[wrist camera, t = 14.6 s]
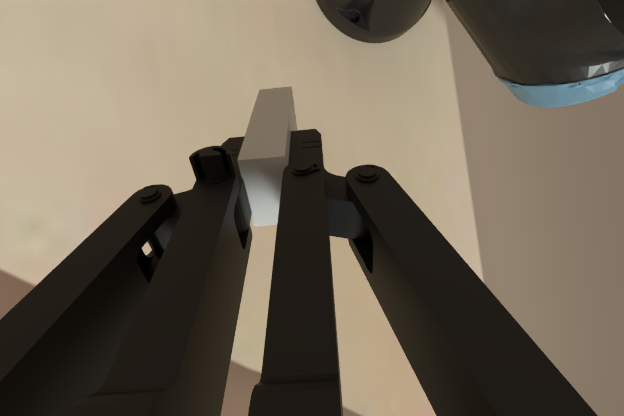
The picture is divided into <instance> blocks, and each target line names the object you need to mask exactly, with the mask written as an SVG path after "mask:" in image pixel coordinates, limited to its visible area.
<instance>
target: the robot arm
mask: <svg viewBox="0 0 624 416" xmlns="http://www.w3.org/2000/svg"><path fill="white" fill-rule="evenodd" d="M316 1H317V3H318V5H319V7H320V9H321V10H322V12H323V13H324V15H325V16H326V18H327V19H328V20H329V21H330V22H331V23H332V24H333V25H334V26H335V27H336V28H337V29H338V30H340V31H341V32H342V33H344V34H345V35H347V36H349V37H351V38H353V39H356V40H359V41H362V42H367V43H382V42H387V41H391V40H393V39H396V38H398V37H400V36H401V35H403V34H404V33H405V32H407V31H408V30H409V29H410V28H411V27H413V26H414V25H415V24H416V23H417V22H418V21H419V20H420V19H421V18H422V16H423V15H424V14H425V12H426V11H427V9H428V7H429V5H430V3H431V1H432V0H316ZM446 2H447V4H448V5H449V7H450V8H451V9H452V11H453V12H454V14H455V15H456V17H457V18H458V20H459V21H460V22H461V24H462V25H463V27H464V28H465V29H466V31H467V33H468V34H469V35H470V37H471V38H472V40H473V41H474V43H475V44H476V46H477V47H478V48H479V50H480V51H481V53H482V54H483V55H484V57H485V58H486V60H487V61H488V63H489V64H490V65H491V67H492V70H493V72H494V74H495V76H496V77H498V79H499V80H500V81H501V82H503V83H505V85H506V86H507V87H508V88H509V89H510V91H511V92H512V93H513V95H514V96H515V97H516V98H517V99H518V100H520V101H521V102H523V103H525V104H528V105H531V106H535V107H544V108H545V107H546V108H552V107H562V106H569V105H574V104H578V103H582V102H586V101H589V100H592V99H595V98H598V97H601V96H604V95H606V94H609V93H611V92H614V91H616V89H617V87H618V86H619V85H620V84H623V83H624V0H446ZM189 160H190V163H191V165H192V168H193V171H194V174H195V177H196V182H195V184H194V187H193V189H191V190H188V191H185V192H182V193H178V194H173V192H172V190H171V188H170V187H169V186H167V185H162V184H161V185H150V186H147V187H144V188H143V189H141V190H139V191H137V192H136V193H134V194H133V195H132V196H131V197H130V198H129V199H128V200H126V201H125V202H124V203H123V204H122V205H121V206H120V207H119V208H118V209H117V210H116V211H115V212H114V213H113V214H112V215H111V216H110V217H109V218H107V219H106V220H105V221H104V222H103V223H102V224H101V225H100V226H99V227H98V228H97V229H96V230H95V231H94V232H93V233H92V234H91V235H89V236H88V237H87V238H86V239H85V240H84V241H83V242H82V243H81V244H80V245H79V246H78V247H77V248H76V249H75V250H74V251H73V252H71V253H70V254H69V255H68V256H67V257H66V258H65V259H64V260H63V261H62V262H61V263H60V264H59V265H58V266H57V267H56V268H55V269H53V270H52V271H51V272H50V273H49V274H48V275H47V276H46V277H45V278H44V279H43V280H42V281H41V282H40V283H39V284H38V285H37V286H36V287H34V288H33V289H32V290H31V291H30V292H29V293H28V294H27V295H26V296H25V297H24V298H23V299H22V300H21V301H20V302H19V303H18V304H16V305H15V307H13V308H12V309H11V310H10V311H9V312H8V313H7V314H6V315H5V316H4V317H3V318H2V319H1V320H0V416H220V415H221V409H222V404H223V398H224V392H225V387H226V381H227V375H228V370H229V364H230V359H231V353H232V348H233V342H234V336H235V331H236V325H237V319H238V314H239V308H240V303H241V297H242V291H243V286H244V280H245V275H246V269H247V263H248V258H249V252H250V247H251V241H252V231H251V227H250V220H251V216H252V220H253V224H254V227H256V226H268V225H277V233H276V242H275V252H274V261H273V271H272V280H271V290H270V299H269V309H268V318H267V328H266V337H265V347H264V356H263V366H262V374H261V379H260V382H259V383H258V384H256V385H255V386H254V389H253V392H252V395H251V400H250V406H249V413H248V416H343V408H342V395H341V382H340V369H339V356H338V343H337V330H336V317H335V303H334V290H333V277H332V264H331V251H330V237H329V236H335V237H342V238H348V240H349V245H350V247H351V249H352V251H353V252H354V254H355V256H356V258H357V260H358V262H359V264H360V266H361V268H362V270H363V272H364V274H365V276H366V278H367V280H368V282H369V284H370V286H371V288H372V290H373V292H374V294H375V296H376V298H377V300H378V302H379V304H380V306H381V307H382V309H383V311H384V313H385V315H386V317H387V319H388V321H389V323H390V325H391V327H392V329H393V331H394V333H395V335H396V337H397V339H398V341H399V343H400V345H401V347H402V349H403V351H404V353H405V355H406V357H407V359H408V361H409V362H410V364H411V366H412V368H413V370H414V372H415V374H416V376H417V378H418V380H419V382H420V384H421V386H422V388H423V390H424V392H425V394H426V396H427V398H428V400H429V402H430V404H431V406H432V408H433V410H434V412H435V414H436V415H437V416H597V415H596V413H595V412H594V411H593V410H592V409H591V408H590V406H589V405H588V404H587V403H586V402H585V401H584V399H583V398H582V397H581V396H580V395H579V394H578V392H577V391H576V390H575V389H574V388H573V387H572V385H571V384H570V383H569V382H568V381H567V380H566V378H565V377H563V375H562V374H561V373H560V372H559V370H558V369H557V368H556V367H555V366H554V364H553V363H552V362H551V361H550V360H549V359H548V358H547V356H546V355H545V354H544V353H543V352H542V351H541V349H540V348H539V347H538V346H537V345H536V344H535V342H534V341H533V340H532V339H531V338H530V336H529V335H528V334H527V333H526V332H525V331H524V330H523V328H522V327H521V326H520V325H519V324H518V323H517V321H516V320H515V319H514V318H513V317H512V316H511V314H510V313H509V312H508V311H507V310H506V309H505V308H504V306H503V305H502V304H501V303H500V302H499V300H498V299H497V298H496V297H495V296H494V295H493V293H492V292H491V291H490V290H489V289H488V288H487V287H486V285H485V284H484V283H483V282H482V281H481V279H480V278H479V277H478V276H477V275H476V274H475V272H474V271H473V270H472V269H471V268H470V267H469V265H468V264H467V263H466V262H465V261H464V260H463V258H462V257H461V256H460V255H459V254H458V253H457V252H456V250H455V249H454V248H453V247H452V246H451V245H450V243H449V242H448V241H447V240H446V239H445V238H444V236H443V235H442V234H441V233H440V232H439V231H438V229H437V228H436V227H435V226H434V225H433V224H432V222H431V221H430V220H429V219H428V218H427V217H426V215H425V214H424V213H423V212H422V211H421V210H420V208H419V207H418V206H417V205H416V204H415V203H414V201H413V200H412V199H411V198H410V197H409V196H408V194H407V193H406V192H405V191H404V190H403V189H402V187H401V186H400V185H399V184H398V183H397V182H396V180H395V179H394V178H393V177H392V176H391V175H390V174H389V172H388V171H386V170H385V169H384V168H382V167H379V166H376V165H361V166H357V167H354V168H352V169H351V170H349V171H348V172H347V174H346V177H343V176H337V175H333V174H331V173H329V172H327V171H326V170H325V169H324V164H323V152H322V141H321V134H320V133H319V132H318V131H317V130H316V129H309V130H299V131H297V124H296V117H295V109H294V101H293V93H292V87H283V88H273V89H263V90H259V93H258V96H257V99H256V102H255V106H254V109H253V112H252V115H251V118H250V122H249V125H248V128H247V131H246V134H245V137H235V138H229V139H228V140H227V141H225V142H224V143H223V144H222V146H211V147H206V148H203V149H200V150H198V151H196V152H194V153H193V154H192V155H191V156H190V157H189ZM147 241H148V243H149V245H150V247H151V249H152V251H151V252H150V253H149V254H148V255H147V256H146V255H145V254H144V252H143V250H142V247H143V246H144V244H145V243H146V242H147Z"/></svg>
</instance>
